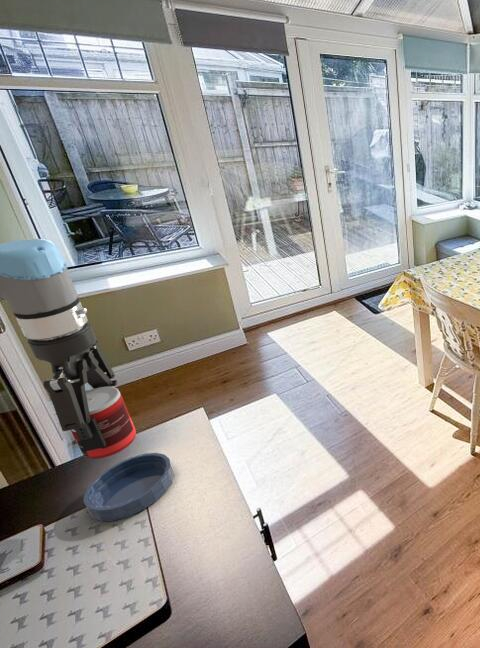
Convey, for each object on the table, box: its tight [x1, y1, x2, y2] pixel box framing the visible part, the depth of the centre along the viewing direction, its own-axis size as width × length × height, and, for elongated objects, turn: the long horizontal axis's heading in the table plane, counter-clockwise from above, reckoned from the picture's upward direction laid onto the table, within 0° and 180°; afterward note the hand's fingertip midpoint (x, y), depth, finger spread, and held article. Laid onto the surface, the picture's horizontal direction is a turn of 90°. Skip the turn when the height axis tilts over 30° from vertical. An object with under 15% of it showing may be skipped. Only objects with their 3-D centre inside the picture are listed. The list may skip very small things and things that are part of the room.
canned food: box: [70, 386, 137, 460], centre depth 78 cm, size 8×8×11 cm
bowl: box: [83, 452, 175, 522], centre depth 85 cm, size 13×13×4 cm
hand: (105, 431), depth 79 cm, fingers closed on canned food, 8 cm apart
